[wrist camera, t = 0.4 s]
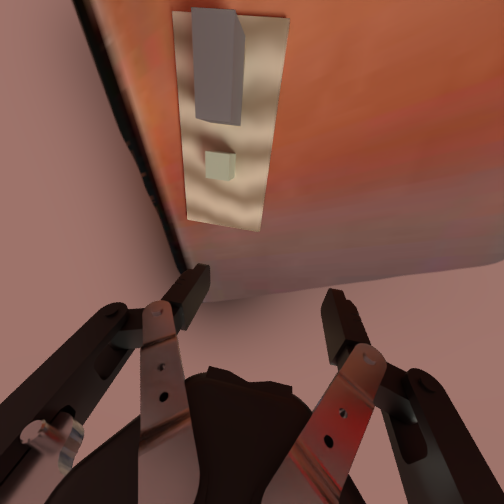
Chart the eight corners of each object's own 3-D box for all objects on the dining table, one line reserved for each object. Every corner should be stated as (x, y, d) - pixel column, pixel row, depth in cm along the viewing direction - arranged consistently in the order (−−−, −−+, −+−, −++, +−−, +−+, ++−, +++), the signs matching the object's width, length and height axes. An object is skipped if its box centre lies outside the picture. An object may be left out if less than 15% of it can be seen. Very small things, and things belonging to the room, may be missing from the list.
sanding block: (210, 35, 25) (191, 7, 20) (246, 37, 25) (235, 9, 20) (211, 122, 30) (195, 118, 25) (240, 126, 30) (230, 122, 25)
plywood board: (175, 15, 26) (172, 11, 25) (289, 22, 24) (289, 18, 23) (189, 217, 41) (187, 219, 40) (259, 230, 40) (259, 232, 39)
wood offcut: (214, 150, 32) (205, 151, 29) (235, 153, 32) (229, 154, 29) (213, 174, 35) (205, 177, 31) (234, 177, 34) (228, 181, 31)
